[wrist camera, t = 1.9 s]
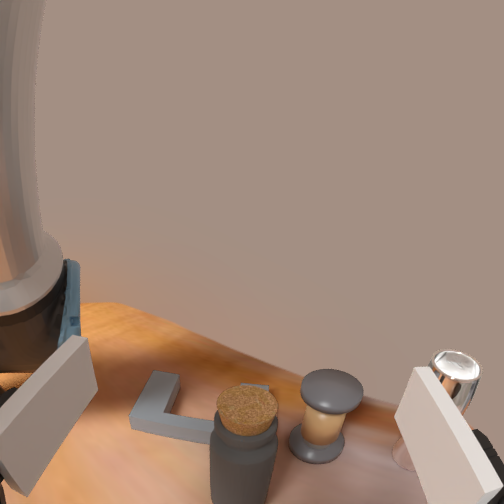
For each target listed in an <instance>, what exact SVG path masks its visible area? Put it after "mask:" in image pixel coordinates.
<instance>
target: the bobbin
mask: <svg viewBox="0 0 504 504" xmlns="http://www.w3.org/2000/svg"><path fill="white" fill-rule="evenodd" d="M300 393H301V397H302V399H303V400H304V402H305V403H306V404H307V406H306V410H305V414H304V418H303V422H302V423H301V424H299V425H298V426H296V427H295V428H294V429H293V430H292V432H291V434H290V438H289V448H290V450H291V452H292V453H293V454H294V455H295V456H296V457H297V458H298V459H300V460H302V461H304V462H307V463H311V464H325V463H328V462H331V461H333V460H335V459H336V458H337V457H338V456H339V455H340V453H341V451H342V449H343V446H344V438H343V435H342V433H341V432H340V430H341V428H342V425H343V422H344V419H345V417H346V414H347V413H348V412H351V411H353V410H354V409H356V408H357V407H358V406H359V404H360V402H361V399H362V396H363V387H362V385H361V383H360V382H359V381H358V380H357V379H356V378H355V377H353V376H352V375H350V374H348V373H346V372H343V371H339V370H334V369H321V370H316V371H313V372H311V373H309V374H308V375H306V376H305V377H304V379H303V381H302V385H301V390H300Z"/></svg>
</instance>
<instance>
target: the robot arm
mask: <svg viewBox="0 0 504 504" xmlns="http://www.w3.org/2000/svg"><path fill="white" fill-rule="evenodd" d="M45 5H46V0H0V373H33V374H32V375H31V376H30V377H29V378H28V379H27V380H26V381H25V382H24V383H23V384H22V385H21V386H20V388H19V389H17V388H15V387H13V388H11V389H9V390H7V391H5V390H4V389H3V387H2V386H1V385H0V504H6V500H5V495H4V490H3V487H2V485H1V482H2V481H3V479H5V481H6V482H7V483H8V485H9V486H10V487H11V488H12V489H13V490H15V491H17V492H19V493H20V494H22V495H24V496H26V497H28V496H29V494H30V492H31V491H32V489H33V488H34V486H35V484H36V483H37V481H38V480H39V478H40V476H41V475H42V473H43V472H44V470H45V469H46V467H47V465H48V464H49V462H50V461H51V459H52V458H53V456H54V455H55V453H56V452H57V450H58V449H59V447H60V445H61V444H62V442H63V441H64V439H65V438H66V436H67V435H68V433H69V432H70V430H71V429H72V427H73V426H74V424H75V423H76V421H77V420H78V419H79V417H80V416H81V414H82V413H83V411H84V410H85V408H86V407H87V405H88V404H89V402H90V401H91V400H92V398H93V397H94V395H95V394H96V392H97V391H98V386H97V382H96V378H95V373H94V369H93V364H92V359H91V354H90V349H89V343H88V338H85V337H81V327H80V265H79V263H78V262H77V261H73V260H70V259H64V260H63V255H62V251H61V247H60V245H59V244H58V242H57V241H56V240H55V238H54V237H52V236H51V235H50V234H49V233H47V232H45V231H43V228H42V221H41V214H40V206H39V197H38V187H37V175H36V160H35V131H34V114H35V85H36V70H37V58H38V49H39V41H40V34H41V27H42V21H43V15H44V10H45ZM394 418H395V420H396V422H397V425H398V427H399V429H400V432H401V434H402V437H403V439H404V442H405V444H406V447H407V449H408V452H409V454H410V457H411V459H412V462H413V464H414V467H415V469H416V472H417V475H418V477H419V480H420V483H421V485H422V488H423V491H424V493H425V496H426V499H427V502H428V504H504V464H503V462H502V461H501V459H500V457H499V456H497V452H496V451H495V449H493V446H492V444H491V443H490V441H489V440H488V438H487V437H486V436H485V435H484V434H483V433H482V432H480V431H479V430H478V429H475V430H471V429H470V427H469V426H468V424H467V422H466V421H465V419H464V418H463V416H462V415H461V413H460V411H459V410H458V408H457V407H456V405H455V404H454V402H453V401H452V399H451V398H450V396H449V394H448V393H447V391H446V390H445V388H444V387H443V385H442V384H441V382H440V381H439V380H438V378H437V377H436V375H435V374H434V372H433V371H432V369H431V368H430V367H414V369H413V372H412V375H411V377H410V380H409V383H408V385H407V388H406V390H405V393H404V395H403V398H402V400H401V402H400V405H399V407H398V409H397V412H396V414H395V416H394Z"/></svg>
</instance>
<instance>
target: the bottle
mask: <svg viewBox="0 0 504 504" xmlns="http://www.w3.org/2000/svg"><path fill="white" fill-rule="evenodd" d="M217 408H218V410H217V412H216V414H215V417H214V429H213V431H212V433H211V436H210V487H211V499H212V502H213V504H264V502H265V499H266V496H267V492H268V488H269V484H270V479H271V475H272V471H273V466H274V462H275V457H276V452H277V446H278V439H277V436H276V434H275V433H276V430H277V425H278V420H277V417H276V413H277V410H278V403H277V400H276V398H275V397H274V396H273V395H272V394H271V393H270V392H268V391H267V390H265V389H262V388H260V387H256V386H250V385H240V386H234V387H231V388H229V389H226V390H225V391H224V392H222V393H221V394H220V396H219V397H218V400H217Z"/></svg>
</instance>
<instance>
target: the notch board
mask: <svg viewBox="0 0 504 504" xmlns="http://www.w3.org/2000/svg"><path fill="white" fill-rule="evenodd" d="M241 385H250V386H256V387H260V388H262V389H265V390H267V391H268V392H269V385H258V384H247V383H241ZM179 389H180V375H179V374H173V373H167V372H162V371H156V370H154V371H153V372H152V374H151V376H150V378H149V380H148V381H147V383H146V385H145V387H144V389H143V391H142V392H141V394H140V396H139V398H138V400H137V402H136V403H135V405H134V407H133V409H132V411H131V413H130V414H129V419H130V424H131V428H132V429H135V430H139V431H143V432H147V433H151V434H156V435H160V436H165V437H170V438H175V439H180V440H186V441H191V442H197V443H204V444H210V436H211V433H212V431H213V429H214V421H210V420H203V419H197V418H191V417H185V416H179V415H174V414H170V411H171V409H172V406H173V404H174V401H175V399H176V396H177V394H178V392H179Z"/></svg>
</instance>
